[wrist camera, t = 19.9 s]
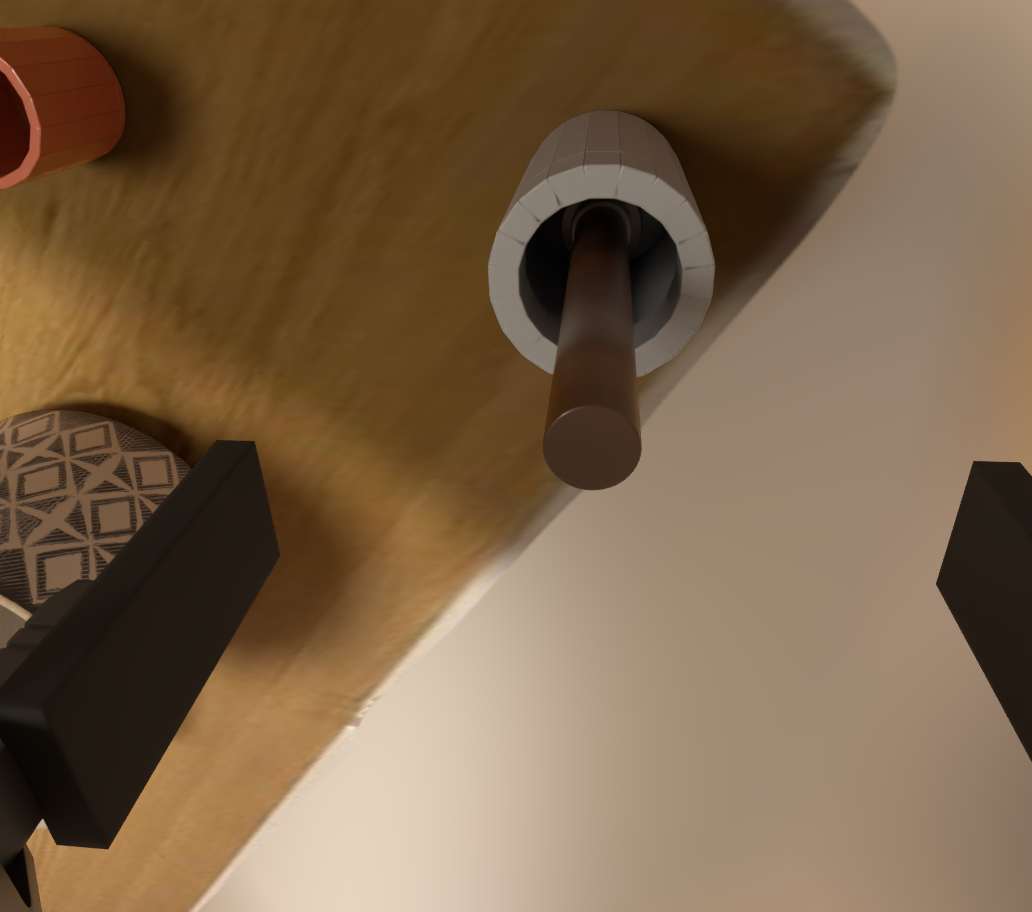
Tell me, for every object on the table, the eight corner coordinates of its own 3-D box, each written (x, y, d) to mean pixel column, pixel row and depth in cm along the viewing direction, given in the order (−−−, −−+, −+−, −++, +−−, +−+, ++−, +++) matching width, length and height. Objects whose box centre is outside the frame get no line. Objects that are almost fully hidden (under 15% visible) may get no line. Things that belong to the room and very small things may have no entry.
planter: (313, 537, 52) (204, 737, 38) (155, 666, 60) (16, 872, 46) (65, 328, 47) (-173, 474, 32) (-74, 502, 54) (-315, 680, 40)
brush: (641, 160, 38) (679, 377, 17) (637, 236, 40) (668, 518, 18) (565, 161, 38) (508, 374, 17) (565, 236, 40) (513, 513, 19)
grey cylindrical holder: (688, 108, 37) (725, 163, 25) (676, 271, 41) (703, 386, 29) (523, 111, 38) (483, 165, 26) (526, 271, 42) (493, 382, 30)
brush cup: (106, 24, 38) (11, 29, 32) (140, 160, 41) (59, 188, 35) (-14, 27, 39) (-129, 33, 33) (28, 161, 42) (-69, 189, 36)
